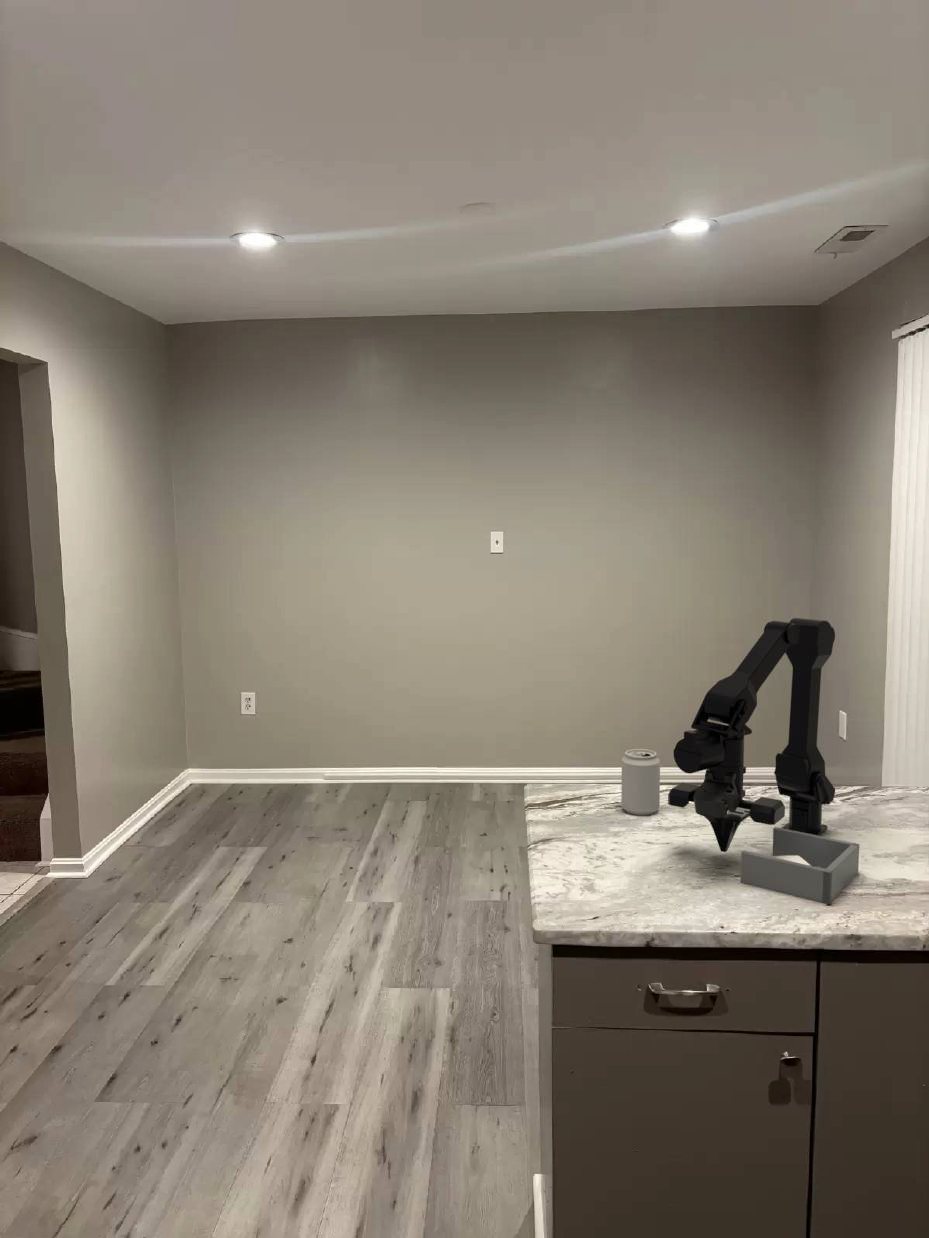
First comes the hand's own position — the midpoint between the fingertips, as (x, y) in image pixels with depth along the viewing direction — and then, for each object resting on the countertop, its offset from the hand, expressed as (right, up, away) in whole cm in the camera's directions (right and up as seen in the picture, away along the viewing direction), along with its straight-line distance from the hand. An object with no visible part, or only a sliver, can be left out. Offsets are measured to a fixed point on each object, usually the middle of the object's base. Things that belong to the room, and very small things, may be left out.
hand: (724, 851), depth 162 cm
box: (+10, -2, -8) cm, 13 cm away
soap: (+9, -3, -7) cm, 12 cm away
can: (-9, +1, +27) cm, 28 cm away
